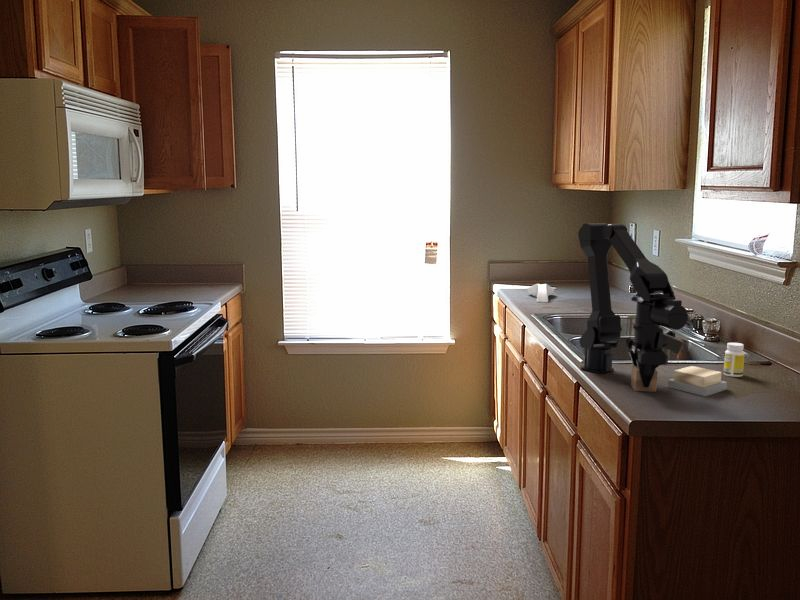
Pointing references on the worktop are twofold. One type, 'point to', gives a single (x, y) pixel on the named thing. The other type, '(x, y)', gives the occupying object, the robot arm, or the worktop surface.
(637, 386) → the walnut cube
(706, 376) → the birch top block
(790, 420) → the worktop surface
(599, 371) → the robot arm
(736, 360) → the supplement bottle
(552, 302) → the worktop surface
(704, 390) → the grey base block
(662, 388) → the worktop surface
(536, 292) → the spoon rest
